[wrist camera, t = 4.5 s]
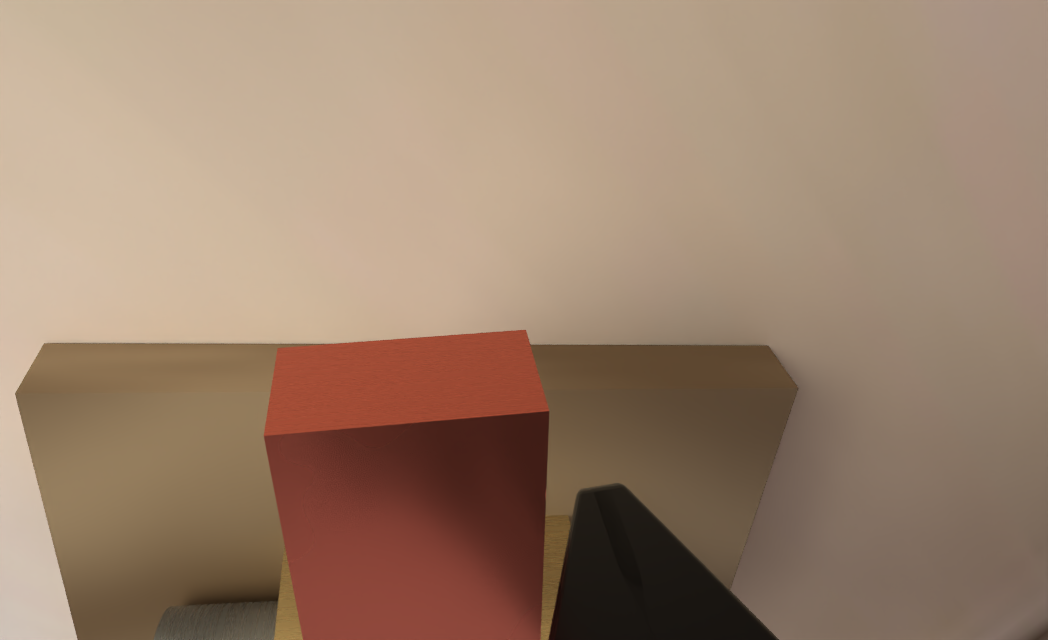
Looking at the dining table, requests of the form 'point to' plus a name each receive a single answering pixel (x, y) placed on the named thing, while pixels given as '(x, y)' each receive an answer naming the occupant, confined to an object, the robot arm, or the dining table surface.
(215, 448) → the valve board
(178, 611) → the ball valve
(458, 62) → the dining table surface
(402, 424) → the valve lever
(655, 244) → the dining table surface
